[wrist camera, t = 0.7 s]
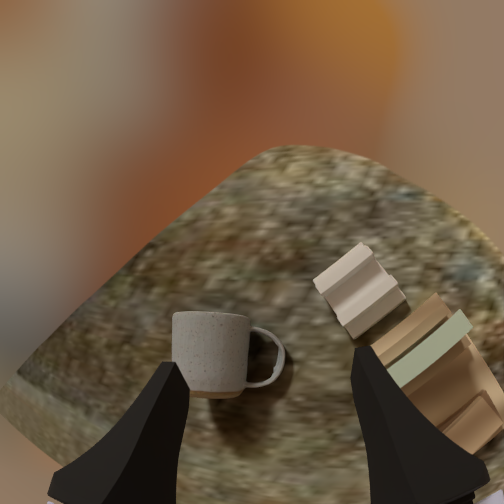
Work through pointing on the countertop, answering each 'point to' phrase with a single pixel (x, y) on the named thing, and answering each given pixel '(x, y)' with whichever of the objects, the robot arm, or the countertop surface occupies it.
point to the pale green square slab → (430, 349)
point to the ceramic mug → (216, 353)
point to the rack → (439, 366)
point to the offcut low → (455, 415)
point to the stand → (359, 290)
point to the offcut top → (474, 426)
